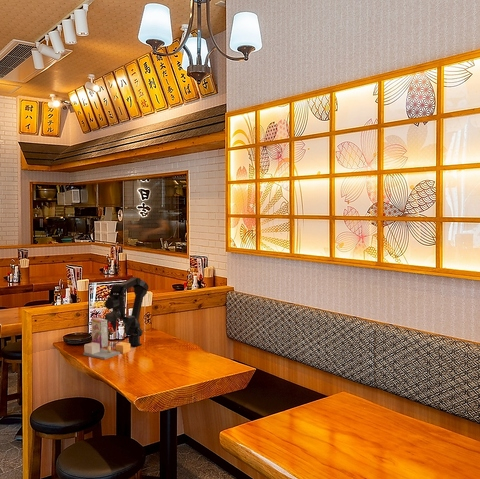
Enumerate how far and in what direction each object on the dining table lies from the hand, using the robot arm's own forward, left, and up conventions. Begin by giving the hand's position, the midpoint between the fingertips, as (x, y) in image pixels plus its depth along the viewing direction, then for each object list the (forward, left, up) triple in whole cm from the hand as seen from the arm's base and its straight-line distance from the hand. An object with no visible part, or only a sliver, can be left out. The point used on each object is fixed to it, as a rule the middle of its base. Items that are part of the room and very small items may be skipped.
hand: (120, 331), depth 290 cm
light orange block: (-1, +1, -12) cm, 12 cm away
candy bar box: (-4, -21, -12) cm, 25 cm away
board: (+9, -6, -12) cm, 16 cm away
